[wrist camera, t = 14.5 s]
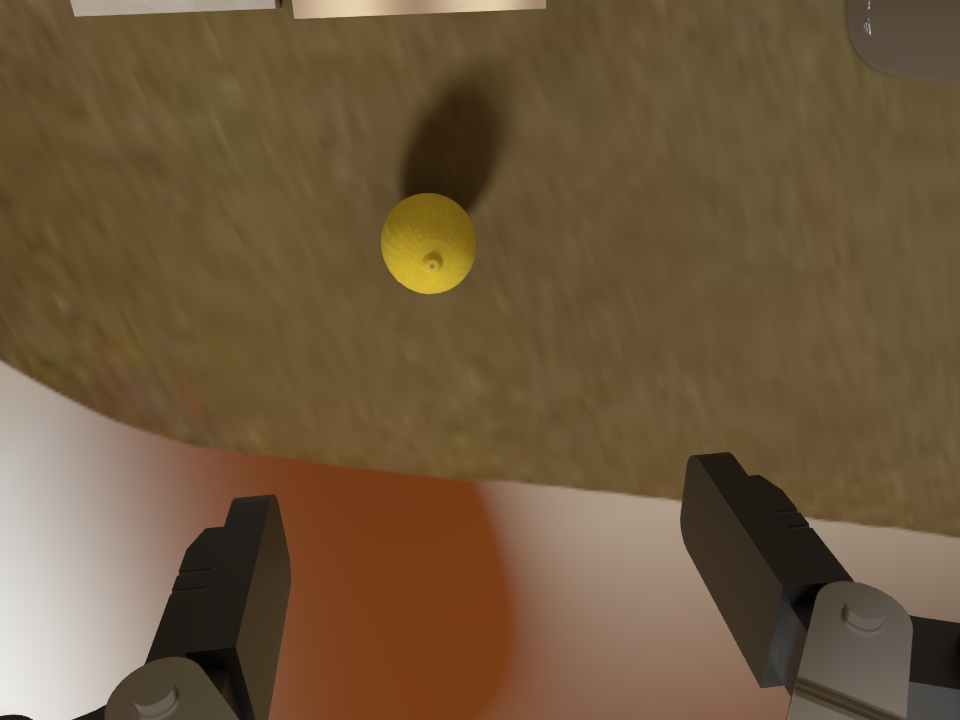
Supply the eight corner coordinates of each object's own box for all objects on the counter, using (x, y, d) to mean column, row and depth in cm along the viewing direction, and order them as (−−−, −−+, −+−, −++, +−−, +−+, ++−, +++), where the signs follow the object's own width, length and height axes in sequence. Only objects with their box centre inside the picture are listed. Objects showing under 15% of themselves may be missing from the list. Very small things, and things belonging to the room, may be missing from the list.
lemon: (382, 177, 43) (380, 213, 36) (472, 181, 44) (487, 217, 37) (381, 263, 46) (379, 313, 39) (466, 266, 47) (480, 315, 40)
